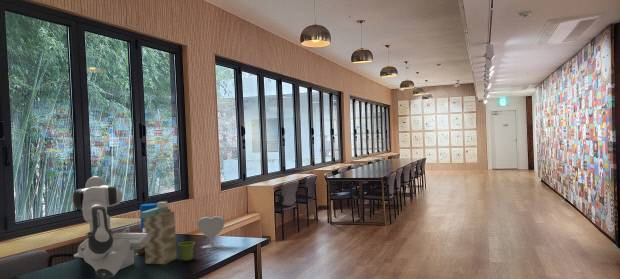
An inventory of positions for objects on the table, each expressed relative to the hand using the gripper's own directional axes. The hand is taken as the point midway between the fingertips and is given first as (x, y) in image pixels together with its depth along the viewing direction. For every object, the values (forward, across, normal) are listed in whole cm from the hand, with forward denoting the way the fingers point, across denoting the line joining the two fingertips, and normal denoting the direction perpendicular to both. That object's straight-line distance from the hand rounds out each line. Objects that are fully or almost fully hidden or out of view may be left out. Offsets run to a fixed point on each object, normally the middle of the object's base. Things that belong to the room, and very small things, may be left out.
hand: (137, 228), depth 227 cm
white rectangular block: (-4, +17, +23) cm, 29 cm away
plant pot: (+10, -13, +31) cm, 35 cm away
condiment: (+19, +21, +37) cm, 46 cm away
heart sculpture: (+35, -14, +46) cm, 59 cm away
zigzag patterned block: (+6, 0, +29) cm, 29 cm away
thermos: (+40, +32, +49) cm, 71 cm away
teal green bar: (+16, 0, +4) cm, 16 cm away
